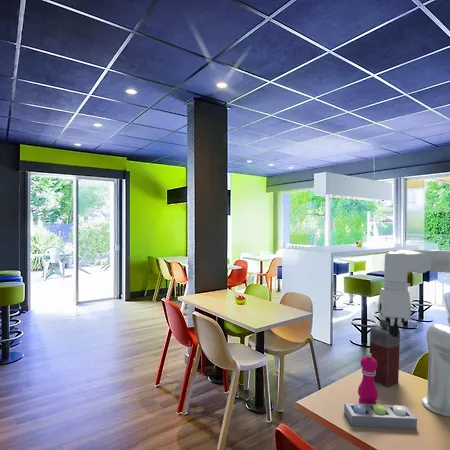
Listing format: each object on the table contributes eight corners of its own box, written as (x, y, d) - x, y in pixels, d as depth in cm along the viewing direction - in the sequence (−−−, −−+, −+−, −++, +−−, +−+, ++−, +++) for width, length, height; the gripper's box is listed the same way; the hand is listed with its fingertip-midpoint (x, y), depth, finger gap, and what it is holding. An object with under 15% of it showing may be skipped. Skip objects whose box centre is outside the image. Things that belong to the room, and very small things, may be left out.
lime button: (382, 415, 119) (382, 404, 119) (387, 422, 115) (387, 411, 115) (371, 415, 119) (371, 404, 119) (375, 421, 115) (376, 410, 115)
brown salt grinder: (401, 381, 147) (403, 318, 146) (387, 387, 140) (389, 322, 140) (382, 373, 154) (384, 313, 154) (368, 378, 148) (370, 317, 147)
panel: (404, 415, 120) (404, 405, 120) (416, 428, 112) (417, 418, 112) (344, 412, 121) (344, 402, 121) (351, 425, 113) (352, 415, 113)
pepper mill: (379, 411, 122) (381, 357, 122) (359, 408, 124) (361, 355, 124) (375, 400, 130) (376, 350, 129) (355, 398, 131) (357, 348, 131)
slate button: (362, 414, 119) (363, 403, 119) (367, 421, 115) (367, 410, 115) (351, 414, 119) (351, 403, 119) (355, 421, 115) (355, 409, 115)
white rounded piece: (401, 416, 118) (402, 405, 118) (407, 423, 114) (408, 412, 114) (390, 416, 119) (391, 405, 118) (396, 422, 115) (396, 411, 114)
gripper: (410, 284, 123) (408, 333, 124) (370, 283, 124) (368, 331, 124) (421, 288, 116) (420, 340, 116) (379, 287, 116) (377, 338, 117)
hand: (393, 335), depth 120 cm, fingers closed
